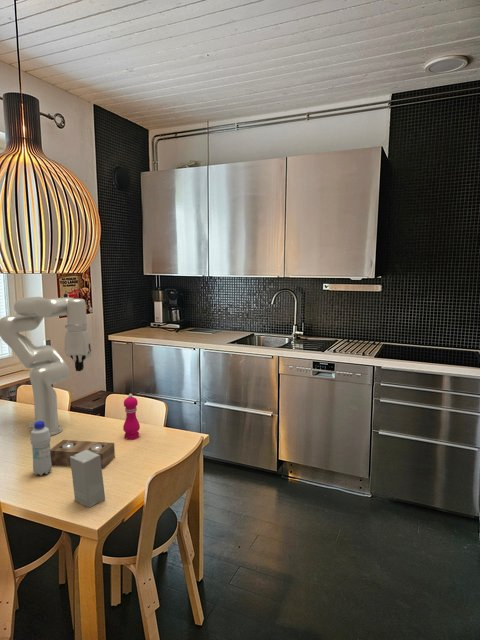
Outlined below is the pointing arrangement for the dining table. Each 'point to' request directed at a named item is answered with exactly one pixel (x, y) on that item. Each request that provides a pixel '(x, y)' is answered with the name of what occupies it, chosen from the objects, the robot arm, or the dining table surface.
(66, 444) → the peg
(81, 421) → the dining table surface
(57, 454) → the socket block
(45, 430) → the bottle
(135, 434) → the pepper mill
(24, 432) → the dining table surface
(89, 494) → the skincare box
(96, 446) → the peg
